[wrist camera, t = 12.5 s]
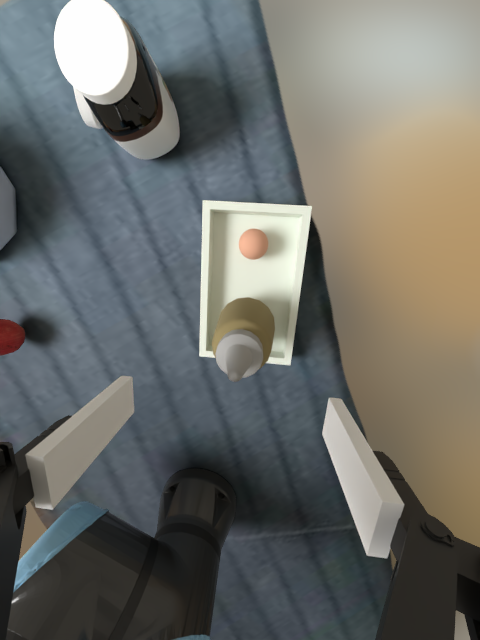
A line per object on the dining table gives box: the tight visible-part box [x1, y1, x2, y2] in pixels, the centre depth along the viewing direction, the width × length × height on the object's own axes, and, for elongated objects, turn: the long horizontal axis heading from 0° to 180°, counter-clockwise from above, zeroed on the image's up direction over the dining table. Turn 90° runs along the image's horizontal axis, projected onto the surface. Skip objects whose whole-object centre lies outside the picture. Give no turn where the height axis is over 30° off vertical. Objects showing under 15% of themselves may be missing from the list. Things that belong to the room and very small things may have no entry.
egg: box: [239, 229, 268, 260], centre depth 31 cm, size 4×4×4 cm
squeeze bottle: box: [212, 297, 275, 382], centre depth 27 cm, size 8×8×18 cm
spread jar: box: [54, 0, 180, 160], centre depth 25 cm, size 12×11×12 cm
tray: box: [199, 200, 312, 365], centre depth 34 cm, size 22×14×3 cm, turn 176°
